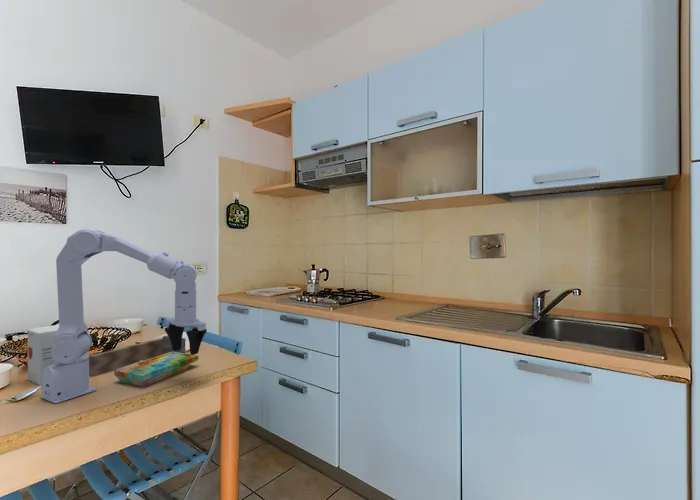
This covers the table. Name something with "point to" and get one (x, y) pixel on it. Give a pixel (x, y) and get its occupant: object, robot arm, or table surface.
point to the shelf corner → (130, 355)
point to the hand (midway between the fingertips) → (185, 352)
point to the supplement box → (40, 351)
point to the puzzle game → (155, 368)
